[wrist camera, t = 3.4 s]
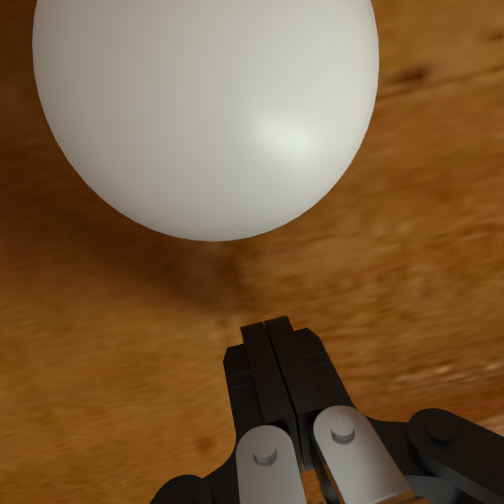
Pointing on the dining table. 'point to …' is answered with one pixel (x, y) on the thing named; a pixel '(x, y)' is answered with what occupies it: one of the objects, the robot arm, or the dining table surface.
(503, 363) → the dining table surface
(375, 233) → the dining table surface
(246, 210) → the cue ball
